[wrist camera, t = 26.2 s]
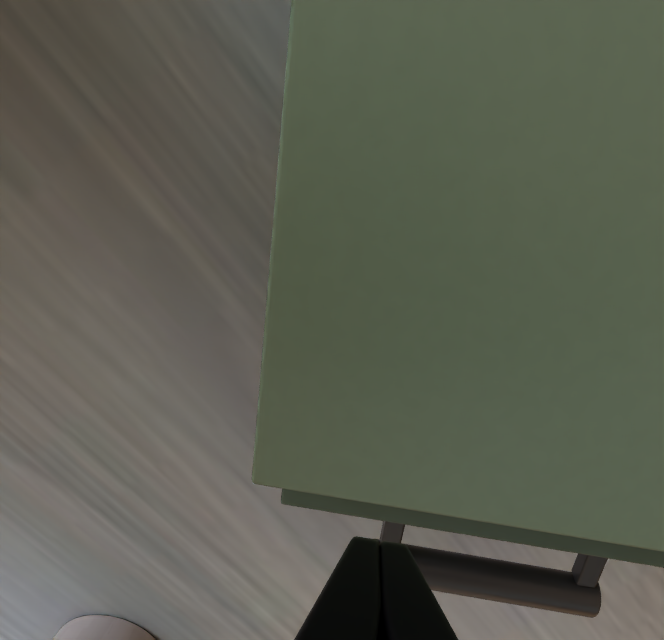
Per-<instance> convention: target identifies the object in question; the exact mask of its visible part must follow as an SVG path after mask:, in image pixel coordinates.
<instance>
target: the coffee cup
mask: <svg viewBox="0 0 664 640" xmlns="http://www.w3.org/2000/svg"><path fill="white" fill-rule="evenodd" d="M52 640H156V639H155V638H154V637H152V636H151V635H150V634H149V633H148V632H146V631H145V630H144V629H142V628H140V627H139V626H137V625H135V624H133V623H131V622H128V621H126V620H123V619H120V618H116V617H112V616H105V615H88V616H82V617H78V618H75V619H73V620H71V621H69V622H68V623H66V624H65V625H64V626H63V627H62V628H61V629H60V630H59V631H58V633H57V634H56V635H55V636H54V638H53V639H52Z"/></svg>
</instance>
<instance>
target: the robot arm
mask: <svg viewBox="0 0 664 640" xmlns="http://www.w3.org/2000/svg"><path fill="white" fill-rule="evenodd" d="M294 640H458V638H457V637H456V635H455V633H454V631H453V629H452V627H451V626H450V624H449V622H448V620H447V618H446V616H445V615H444V613H443V611H442V609H441V607H440V605H439V604H438V602H437V600H436V598H435V596H434V594H433V593H432V591H431V589H430V587H429V585H428V583H427V582H426V580H425V578H424V576H423V574H422V572H421V571H420V569H419V567H418V565H417V563H416V561H415V560H414V558H413V556H412V554H411V552H410V550H409V549H408V547H407V546H406V545H404V544H400V543H394V542H388V541H382V542H381V543H380V544H379V542H378V541H377V540H375V539H370V538H363V537H357V536H356V537H353V538H352V539H351V541H350V543H349V544H348V546H347V548H346V550H345V552H344V553H343V555H342V557H341V559H340V560H339V562H338V564H337V566H336V567H335V569H334V571H333V573H332V574H331V576H330V578H329V580H328V581H327V583H326V585H325V587H324V588H323V590H322V592H321V594H320V595H319V597H318V599H317V601H316V602H315V604H314V606H313V608H312V609H311V611H310V613H309V615H308V616H307V618H306V620H305V622H304V623H303V625H302V627H301V629H300V630H299V632H298V634H297V636H296V637H295V639H294Z"/></svg>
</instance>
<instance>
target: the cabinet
mask: <svg viewBox="0 0 664 640" xmlns="http://www.w3.org/2000/svg"><path fill="white" fill-rule="evenodd" d="M252 482H253V483H254V484H258V485H264V486H270V487H276V488H282V489H288V490H294V491H300V492H306V493H312V494H318V495H324V496H330V497H336V498H342V499H348V500H354V501H360V502H366V503H372V504H378V505H384V506H390V507H397V508H403V509H409V510H415V511H421V512H427V513H433V514H439V515H445V516H451V517H457V518H463V519H469V520H475V521H481V522H487V523H493V524H499V525H505V526H511V527H517V528H523V529H529V530H535V531H541V532H547V533H553V534H559V535H566V536H572V537H578V538H584V539H590V540H596V541H602V542H608V543H614V544H620V545H626V546H632V547H638V548H644V549H650V550H656V551H662V552H664V0H291V12H290V24H289V36H288V48H287V60H286V72H285V85H284V97H283V109H282V121H281V133H280V145H279V157H278V169H277V181H276V193H275V205H274V217H273V229H272V241H271V253H270V265H269V277H268V289H267V301H266V313H265V325H264V337H263V349H262V361H261V373H260V385H259V397H258V409H257V421H256V433H255V445H254V457H253V469H252Z"/></svg>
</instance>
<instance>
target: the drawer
mask: <svg viewBox="0 0 664 640" xmlns="http://www.w3.org/2000/svg"><path fill="white" fill-rule="evenodd" d="M281 503H282V504H285V505H291V506H297V507H303V508H309V509H315V510H321V511H327V512H333V513H339V514H345V515H351V516H357V517H363V518H369V519H375V520H381V521H383V525H382V530H381V535H380V540H378V539H375V540H377V541H378V542H379V544H380V543H381V542H382V541H388V542H394V543H400V544H402V543H401V541H402V536H403V532H404V527H405V525H411V526H417V527H423V528H429V529H435V530H441V531H447V532H453V533H459V534H465V535H471V536H477V537H483V538H489V539H495V540H501V541H507V542H513V543H519V544H525V545H531V546H537V547H543V548H549V549H555V550H561V551H567V552H573V553H578V555H577V558H576V560H575V563H574V565H573V568H572V572H568V571H563V570H557V569H551V568H545V567H539V566H533V565H527V564H521V563H515V562H509V561H503V560H497V559H491V558H485V557H479V556H473V555H467V554H462V553H456V552H450V551H444V550H438V549H432V548H426V547H420V546H414V545H408V544H404V545H406V546H407V547H408V549H409V550H410V552H411V554H412V556H413V558H414V560H415V561H416V563H417V565H418V567H419V569H420V571H421V572H422V574H423V576H424V578H425V580H426V582H427V583H428V585H429V587H430V589H431V590H433V591H439V592H445V593H450V594H456V595H462V596H468V597H474V598H480V599H485V600H491V601H497V602H503V603H509V604H515V605H520V606H526V607H532V608H538V609H544V610H550V611H555V612H561V613H567V614H573V615H579V616H585V617H591V618H593V617H596V616H597V615H598V613H599V611H600V607H601V591H600V586H599V583H598V581H599V578H600V576H601V573H602V571H603V569H604V566H605V564H606V562H607V559H608V558H609V559H615V560H621V561H627V562H633V563H639V564H645V565H651V566H657V567H663V568H664V552H662V551H656V550H650V549H644V548H638V547H632V546H626V545H620V544H614V543H608V542H602V541H596V540H590V539H584V538H578V537H572V536H566V535H559V534H553V533H547V532H541V531H535V530H529V529H523V528H517V527H511V526H505V525H499V524H493V523H487V522H481V521H475V520H469V519H463V518H457V517H451V516H445V515H439V514H433V513H427V512H421V511H415V510H409V509H403V508H397V507H390V506H384V505H378V504H372V503H366V502H360V501H354V500H348V499H342V498H336V497H330V496H324V495H318V494H312V493H306V492H300V491H294V490H288V489H282V495H281Z"/></svg>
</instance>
